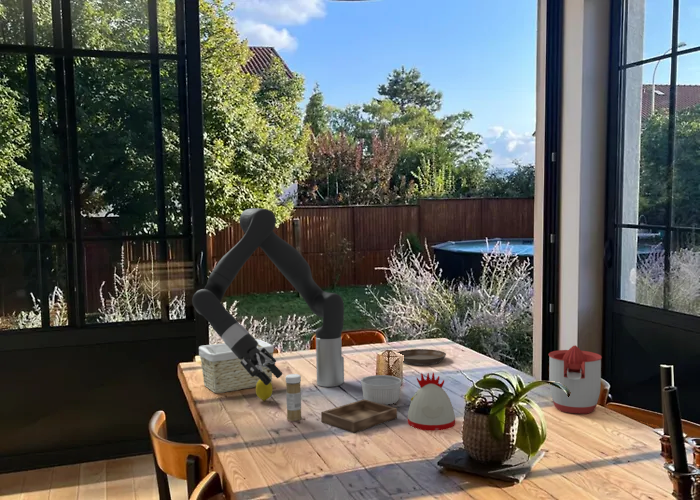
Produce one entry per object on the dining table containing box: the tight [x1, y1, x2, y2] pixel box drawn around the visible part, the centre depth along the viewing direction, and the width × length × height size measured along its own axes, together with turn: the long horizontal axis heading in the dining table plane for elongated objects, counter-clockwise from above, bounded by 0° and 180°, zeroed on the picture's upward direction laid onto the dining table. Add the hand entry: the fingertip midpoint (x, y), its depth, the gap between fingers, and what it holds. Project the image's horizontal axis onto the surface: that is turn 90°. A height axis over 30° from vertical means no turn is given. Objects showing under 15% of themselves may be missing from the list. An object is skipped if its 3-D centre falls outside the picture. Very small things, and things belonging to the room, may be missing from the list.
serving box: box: [320, 398, 398, 434], centre depth 195 cm, size 18×14×3 cm
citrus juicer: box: [548, 344, 603, 415], centre depth 201 cm, size 16×17×20 cm
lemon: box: [255, 380, 273, 402], centre depth 216 cm, size 6×6×8 cm
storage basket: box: [198, 338, 275, 394], centre depth 237 cm, size 24×16×15 cm
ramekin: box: [360, 374, 402, 406], centre depth 215 cm, size 13×13×7 cm
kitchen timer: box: [407, 372, 456, 432], centre depth 192 cm, size 14×14×15 cm
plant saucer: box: [396, 348, 447, 366], centre depth 270 cm, size 21×21×3 cm
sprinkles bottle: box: [285, 373, 302, 422], centre depth 197 cm, size 5×5×13 cm
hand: (274, 379), depth 198 cm, fingers open, 8 cm apart
